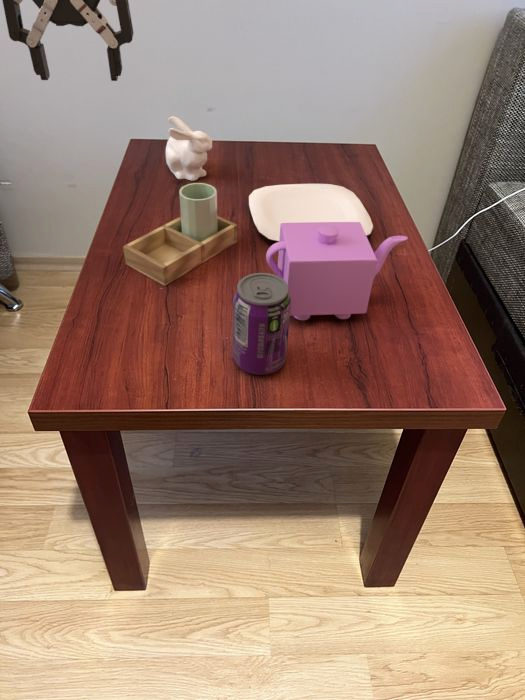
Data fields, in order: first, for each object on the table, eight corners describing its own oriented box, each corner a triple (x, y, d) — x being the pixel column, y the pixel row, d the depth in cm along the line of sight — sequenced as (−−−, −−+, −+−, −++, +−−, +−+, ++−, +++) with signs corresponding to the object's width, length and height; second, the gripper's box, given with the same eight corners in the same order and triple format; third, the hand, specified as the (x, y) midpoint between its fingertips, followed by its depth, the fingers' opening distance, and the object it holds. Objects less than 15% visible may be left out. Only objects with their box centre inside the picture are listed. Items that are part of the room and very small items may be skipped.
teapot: (267, 324, 78) (271, 250, 70) (260, 283, 86) (263, 211, 77) (401, 320, 80) (421, 247, 72) (383, 280, 88) (400, 210, 79)
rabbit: (218, 178, 112) (216, 119, 104) (179, 190, 108) (175, 129, 99) (185, 158, 119) (182, 101, 111) (148, 168, 114) (141, 109, 106)
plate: (381, 245, 95) (383, 237, 94) (259, 252, 92) (260, 243, 91) (348, 189, 111) (349, 181, 110) (243, 193, 108) (243, 185, 107)
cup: (201, 253, 90) (198, 204, 84) (175, 240, 93) (171, 191, 87) (224, 239, 94) (224, 190, 88) (199, 227, 96) (197, 179, 90)
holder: (164, 286, 84) (163, 268, 82) (125, 264, 88) (122, 246, 86) (237, 241, 94) (237, 224, 92) (199, 224, 98) (198, 206, 96)
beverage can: (286, 379, 70) (293, 307, 62) (231, 377, 70) (231, 304, 62) (285, 343, 76) (291, 271, 67) (234, 341, 75) (234, 269, 67)
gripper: (-28, -83, 54) (16, 88, 65) (117, -78, 56) (136, 88, 67) (-9, -90, 60) (28, 69, 71) (122, -85, 61) (139, 70, 72)
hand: (80, 78), depth 69 cm, fingers open, 8 cm apart
